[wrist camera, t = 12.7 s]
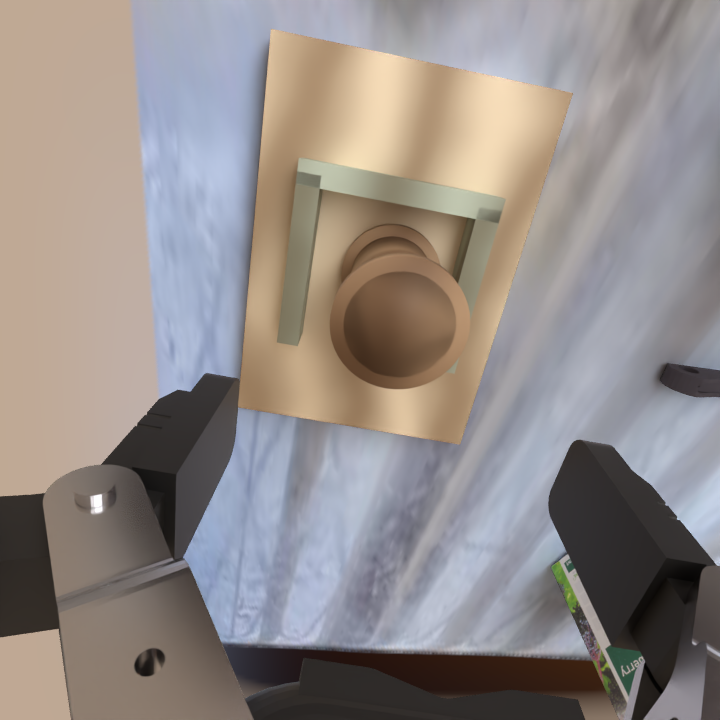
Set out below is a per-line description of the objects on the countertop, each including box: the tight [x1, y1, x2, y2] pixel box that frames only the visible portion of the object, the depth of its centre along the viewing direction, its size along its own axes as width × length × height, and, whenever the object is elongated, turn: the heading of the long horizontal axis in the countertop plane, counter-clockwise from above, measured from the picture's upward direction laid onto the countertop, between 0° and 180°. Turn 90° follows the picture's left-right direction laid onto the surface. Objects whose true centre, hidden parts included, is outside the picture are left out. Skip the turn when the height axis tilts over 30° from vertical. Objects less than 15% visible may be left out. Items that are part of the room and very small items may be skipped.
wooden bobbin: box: [330, 224, 470, 389], centre depth 23 cm, size 6×6×9 cm
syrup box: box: [551, 554, 643, 720], centre depth 31 cm, size 6×6×14 cm
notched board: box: [238, 29, 573, 444], centre depth 27 cm, size 15×21×4 cm
